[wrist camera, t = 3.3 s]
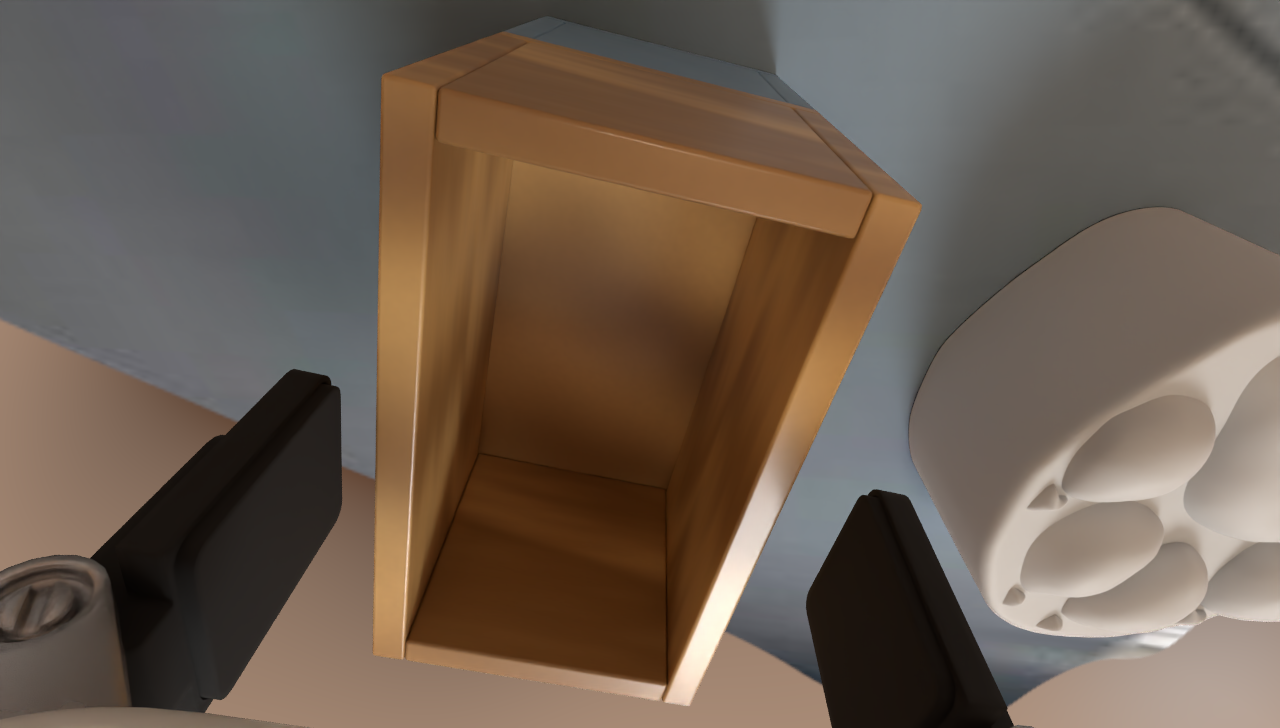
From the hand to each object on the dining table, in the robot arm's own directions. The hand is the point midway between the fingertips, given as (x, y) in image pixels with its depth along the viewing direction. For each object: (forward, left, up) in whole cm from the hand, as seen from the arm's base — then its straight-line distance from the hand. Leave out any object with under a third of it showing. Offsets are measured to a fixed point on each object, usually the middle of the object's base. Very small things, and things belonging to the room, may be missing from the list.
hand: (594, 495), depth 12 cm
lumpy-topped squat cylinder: (+18, -2, -13) cm, 22 cm away
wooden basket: (0, 0, -7) cm, 7 cm away
